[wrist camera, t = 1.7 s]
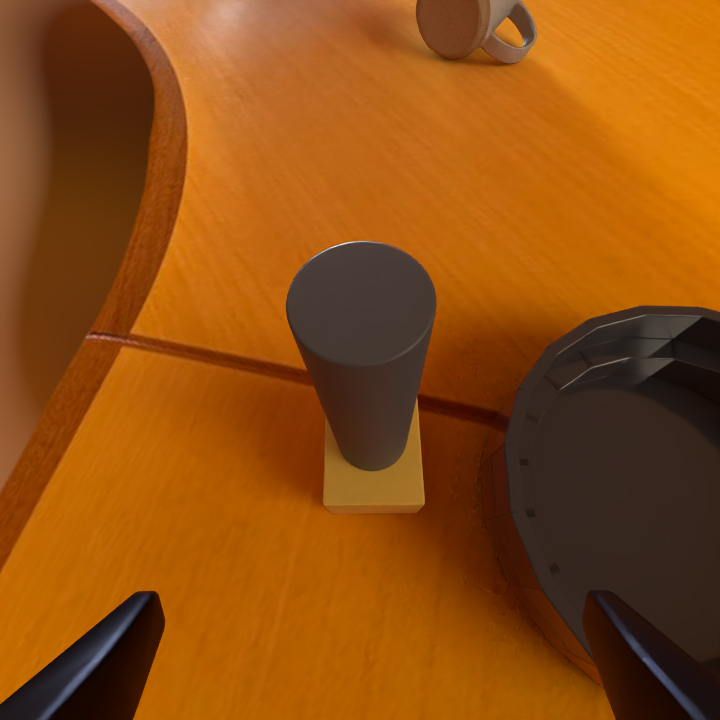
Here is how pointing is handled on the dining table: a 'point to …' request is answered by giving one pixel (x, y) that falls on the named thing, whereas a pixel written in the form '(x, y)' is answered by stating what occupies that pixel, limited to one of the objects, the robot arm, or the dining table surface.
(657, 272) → the dining table surface
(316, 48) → the dining table surface
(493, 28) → the ceramic mug
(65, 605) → the dining table surface
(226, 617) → the dining table surface
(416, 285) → the peg on base
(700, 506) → the bowl
